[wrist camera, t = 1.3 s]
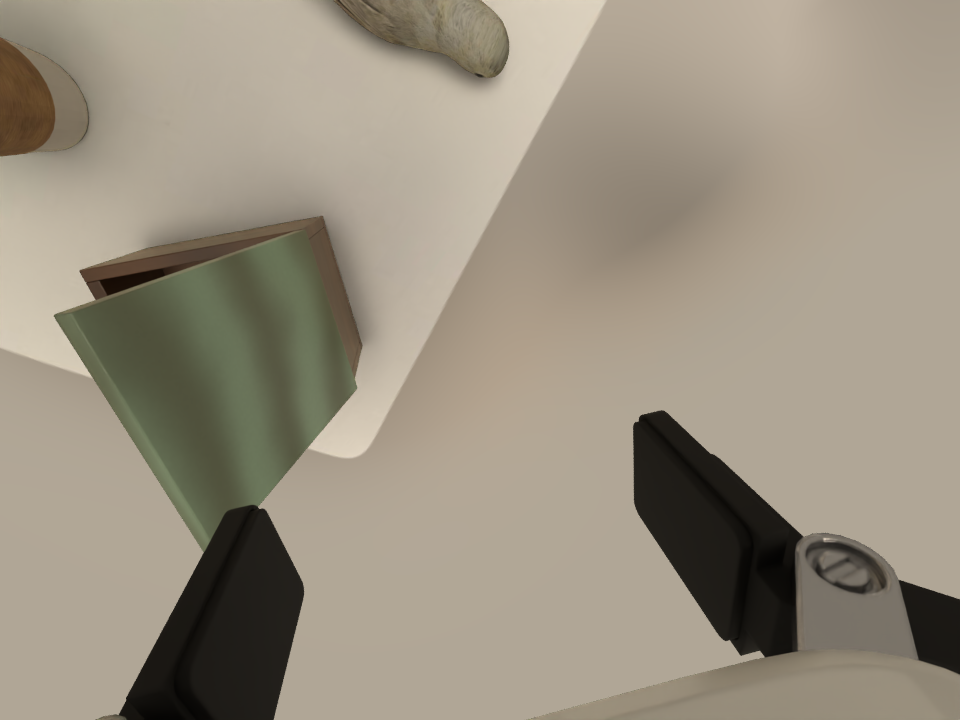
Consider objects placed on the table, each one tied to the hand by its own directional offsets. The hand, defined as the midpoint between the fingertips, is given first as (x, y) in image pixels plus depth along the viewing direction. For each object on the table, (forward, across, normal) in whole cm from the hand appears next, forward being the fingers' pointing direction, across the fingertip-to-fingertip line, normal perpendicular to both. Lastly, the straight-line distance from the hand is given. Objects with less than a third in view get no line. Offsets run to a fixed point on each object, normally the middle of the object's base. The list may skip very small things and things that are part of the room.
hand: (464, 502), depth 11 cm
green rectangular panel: (+14, +10, 0) cm, 17 cm away
